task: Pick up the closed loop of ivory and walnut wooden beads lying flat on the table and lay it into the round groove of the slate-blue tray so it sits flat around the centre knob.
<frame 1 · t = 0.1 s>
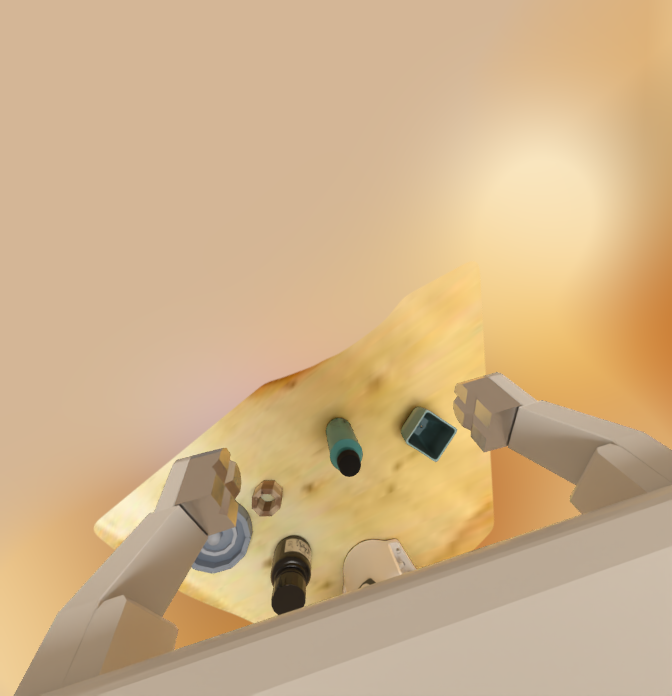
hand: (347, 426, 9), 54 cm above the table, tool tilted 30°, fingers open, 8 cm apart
ink bottle: (293, 551, 64), on the table
bead loop: (268, 493, 63), on the table
flower pot: (415, 423, 66), on the table
beverage bottle: (338, 427, 64), on the table
groove tray: (217, 530, 62), on the table
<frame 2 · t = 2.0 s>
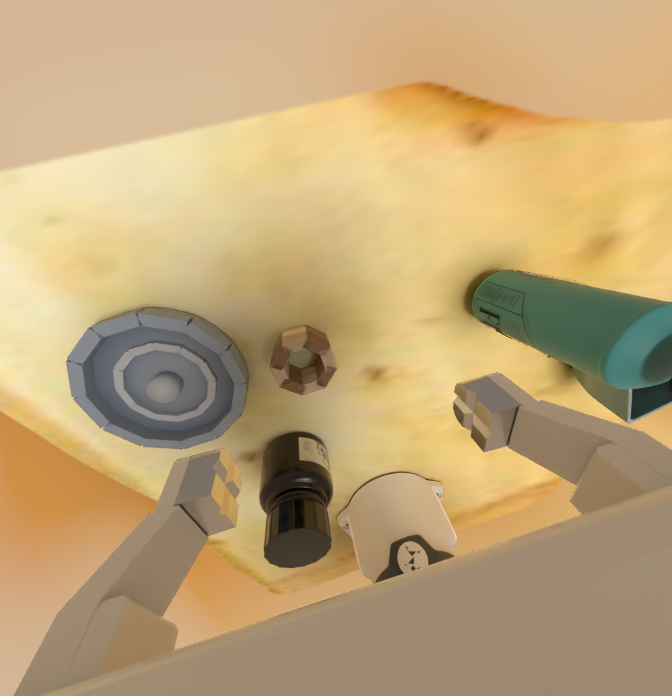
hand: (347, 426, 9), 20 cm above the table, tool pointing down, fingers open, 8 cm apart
ink bottle: (296, 453, 37), on the table
bead loop: (302, 352, 30), on the table
flower pot: (584, 348, 37), on the table
beverage bottle: (486, 293, 31), on the table
groove tray: (172, 377, 29), on the table
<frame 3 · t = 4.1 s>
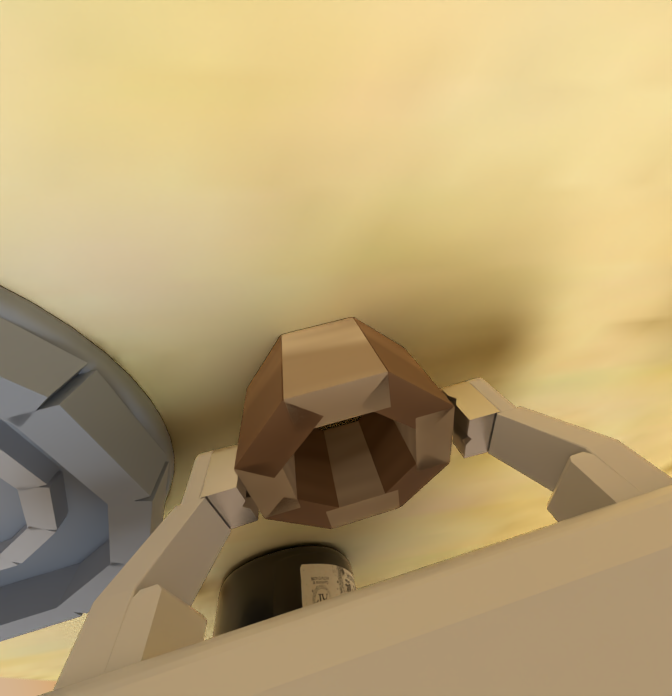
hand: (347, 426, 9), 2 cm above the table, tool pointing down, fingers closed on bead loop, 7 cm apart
ink bottle: (288, 571, 18), on the table
bead loop: (333, 393, 11), on the table, touching gripper
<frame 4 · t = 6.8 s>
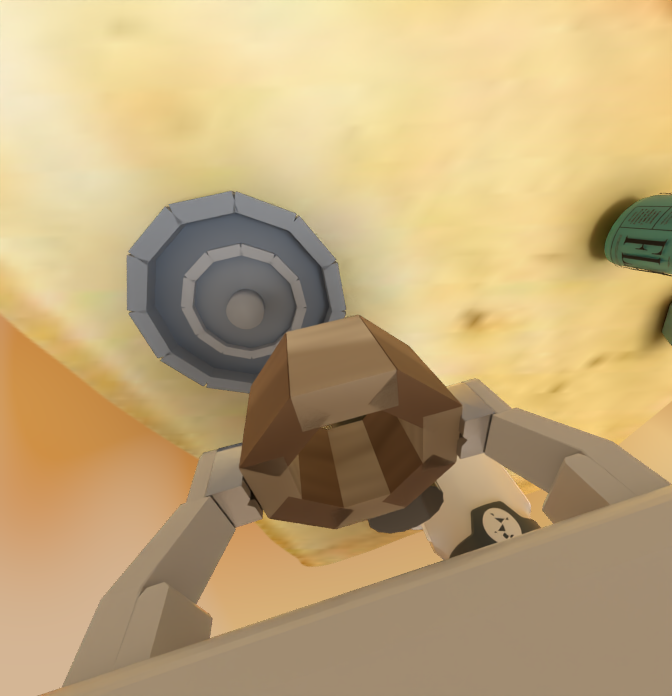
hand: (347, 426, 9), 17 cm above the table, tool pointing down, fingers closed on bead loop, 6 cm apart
ink bottle: (365, 411, 32), on the table
bead loop: (337, 391, 11), point 15 cm above the table, touching gripper
beverage bottle: (614, 230, 27), on the table
groove tray: (248, 301, 23), on the table
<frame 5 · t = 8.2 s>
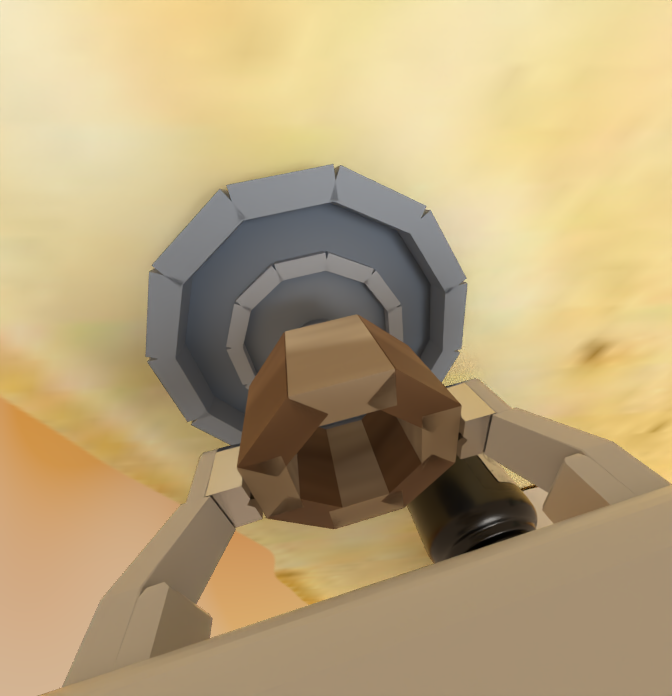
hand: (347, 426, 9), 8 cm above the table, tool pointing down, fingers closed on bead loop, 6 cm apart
ink bottle: (437, 462, 25), on the table
bead loop: (336, 391, 11), point 6 cm above the table, touching gripper
groove tray: (317, 333, 16), on the table
when the fingers open (4 cm above the table, at t = 9.4 s): bead loop drops 1 cm, resting on groove tray.
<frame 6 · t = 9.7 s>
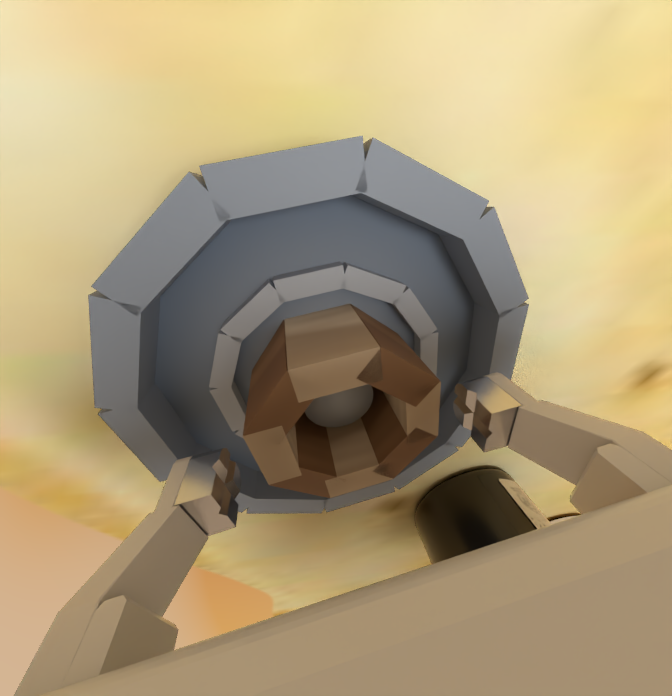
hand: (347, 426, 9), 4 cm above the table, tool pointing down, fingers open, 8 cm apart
ink bottle: (459, 496, 22), on the table
bead loop: (331, 375, 12), point 1 cm above the table, touching groove tray
groove tray: (327, 362, 13), on the table
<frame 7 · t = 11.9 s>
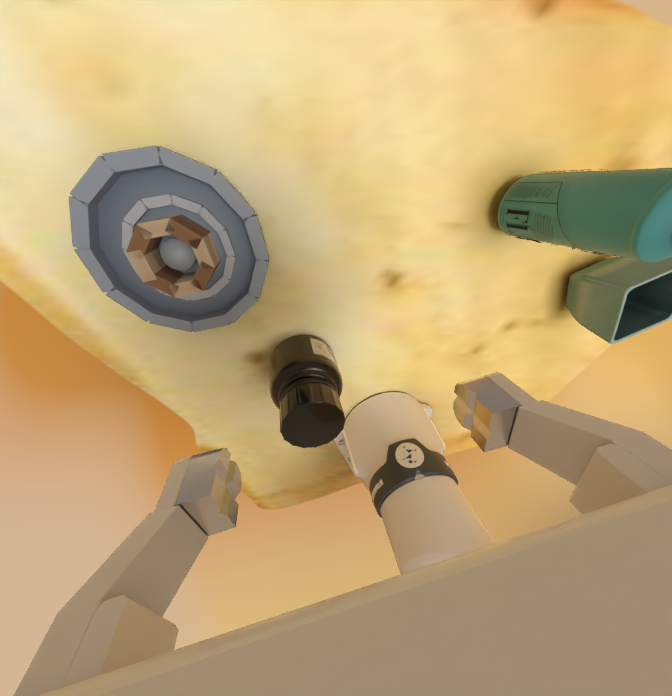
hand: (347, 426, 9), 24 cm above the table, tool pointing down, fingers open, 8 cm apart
ink bottle: (302, 360, 37), on the table
bead loop: (183, 252, 26), point 1 cm above the table, touching groove tray
flower pot: (579, 282, 40), on the table
beverage bottle: (510, 205, 31), on the table
groove tray: (185, 249, 27), on the table
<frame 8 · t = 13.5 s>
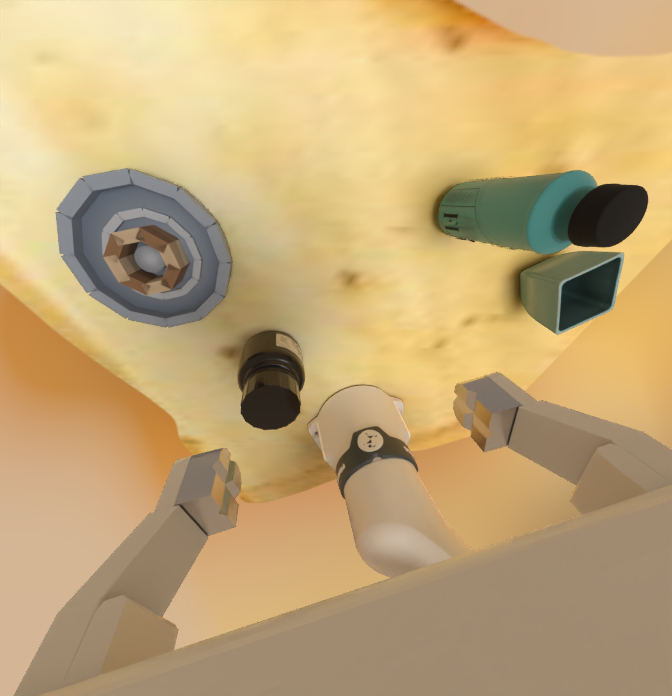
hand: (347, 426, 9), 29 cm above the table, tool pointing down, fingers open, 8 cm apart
ink bottle: (272, 354, 40), on the table
bead loop: (156, 257, 30), point 1 cm above the table, touching groove tray
flower pot: (531, 279, 43), on the table
beverage bottle: (452, 209, 35), on the table
groove tray: (159, 254, 31), on the table
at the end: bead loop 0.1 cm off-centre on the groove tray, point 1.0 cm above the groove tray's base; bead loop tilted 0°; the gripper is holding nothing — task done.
